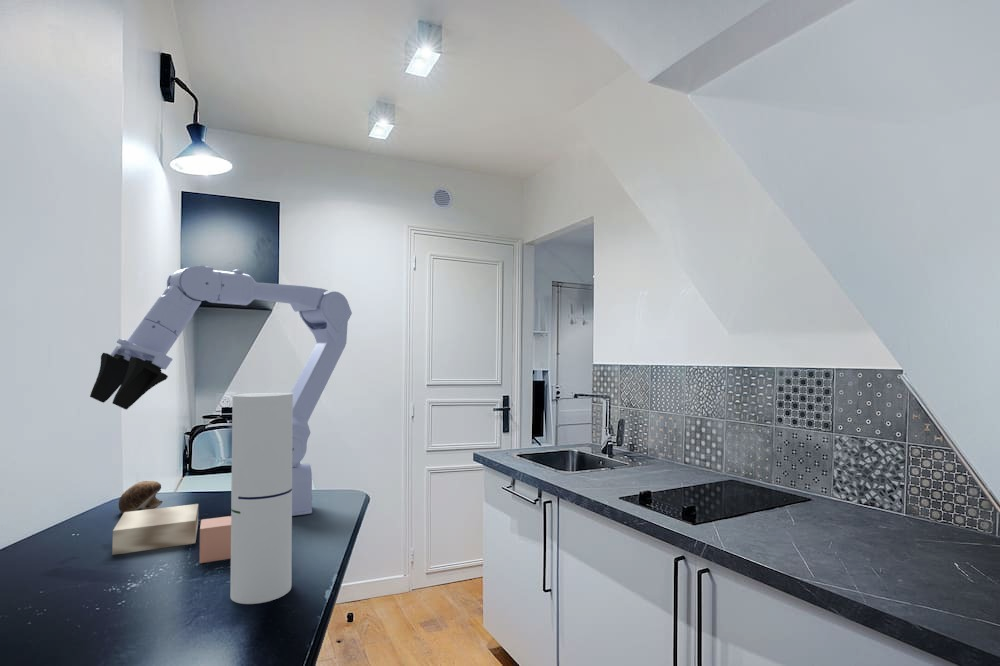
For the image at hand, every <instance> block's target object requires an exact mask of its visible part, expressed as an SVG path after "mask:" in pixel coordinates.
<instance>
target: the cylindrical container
mask: <svg viewBox="0 0 1000 666" xmlns="http://www.w3.org/2000/svg"><path fill="white" fill-rule="evenodd" d="M231 403H232V406H231V407H232V409H231V411H232V414H231V416H232V417H231V418H232V419H231V421H232V422H231V427H232V428H231V492H230V493H231V494H230V497H231V500H230V502H231V504H230V507H231V508H230V509H231V510H230V512H231V513H230V514H231V515H230V516H231V558H230V590H229V591H230V594H229V595H230V600H231V601H232V602H234V603H237V604H242V605H254V604H255V605H256V604H262V603H267V602H271V601H273V600H276V599H279V598H281V597H283V596H286V594H287V595H288V593H289V592H290V591H291V590H292V578H293V577H292V574H293V573H292V571H293V570H292V567H293V566H292V563H293V562H292V561H293V560H292V557H293V556H292V553H293V551H292V547H293V544H292V543H293V542H292V541H293V540H292V539H293V538H292V536H293V535H292V533H293V530H292V529H293V516H292V424H293V393H291V392H283V391H282V392H281V391H277V392H274V391H273V392H249V393H248V392H247V393H238V394H232V402H231Z"/></svg>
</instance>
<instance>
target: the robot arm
mask: <svg viewBox="0 0 1000 666" xmlns="http://www.w3.org/2000/svg"><path fill="white" fill-rule="evenodd" d="M326 292H327V293H326ZM254 300H258V301H266V302H267V301H268V302H273V303H276V302H277V303H281V304H289V305H290V306H291V308H292V309H293V311H294V312H298V314H299V316H300V318H301V320H302V321H303V323H304V324H305V325H306V327H307V328H308V329H309V331H310V332H311V333H312V334H313V336H314V337H313V338H314V339H315V342H316V343H315V346H314V347H313V349H312V351H311V354H309V357H308V359H307V361H306V362H305V364H304V367H303V369H302V370H301V373H300V375H299V376H298V379H297V380H296V382H295V384H294V386H293V388H292V389H291V391H290V393H293V424H292V517H295V516H302V515H310V514H312V513H313V509H312V508H313V507H312V506H313V503H312V502H313V476H312V467H311V463H301V462H302V461H303V459H304V458H305V456H306V453H307V448H308V447H307V446H308V445H307V444H308V440H309V438H310V435H311V429H310V426H309V424H308V423H309V419H310V418H311V416H312V413H313V412H314V410H315V408H316V406H317V404H318V401H319V400H320V398H321V397H322V394H323V392H324V390H325V388H326V386H327V384H328V382H329V380H330V378H331V376H332V373H333V371H334V370H335V368H336V366H337V364H338V361H340V357H341V356H342V354H343V351H344V350H345V348H346V345H347V340H348V339H347V338H348V321H349V320H350V319H351V316H352V314H353V313H352V309H351V307H350V304H349V301H348V299H347V298H346V296H345V295H344V294H343V293H341V292H339V291H329V292H328V289H324V288H320V287H313V286H305V285H295V284H294V285H293V284H281V283H271V282H270V283H268V282H257V281H256V280H255V279H254V278H253V277H252V275H249V274H247V273H244V270H242V269H233V270H232V272H231V271H224V270H216V269H214V267H212V266H206V265H200V266H199V265H195V266H194V265H192V266H189V267H185V268H181V269H178V270H176V271H175V272H173V274H172V275H171V274H170V275H168V277H167V280H166V289H165V290H164V292H163V293H162V295H161V296H159V297H158V298H157V300H156V301H155V302H154V303H153V305H152V306H151V308H150V309H149V311H148V312H147V313H146V315H145V316H144V318H143V319H142V320H141V321H140V323H139V325H138V326H137V327H136V329H135V330H134V331H133V333H132V334H131V335H130V336H129V338H128V339H127V340H126V339H124V338H118V339H117V341H116V343H117V344H118V345H116V346H115V348H114V349H113V351H112V352H111V353H110V354H109V353H107V352H102V353H101V355H100V365H99V369H98V370H99V371H98V374H97V377H96V380H95V382H94V384H93V388H92V390H91V391H90V395H89V397H90V398H92V399H94V400H96V401H99V402H100V403H103V404H104V403H105V402H107V401H108V400H109V399H110V398H111V397H112V396H113V395H114V393H115V392H116V391H117V392H116V393H115V395H114V397H113V400H112V404H113V405H116V406H117V407H119V408H122V409H123V410H125V411H126V410H128V409H129V408H131V406H133V405H134V404H135V403H136V402H137V401H138V400H139V399H141V397H142V396H143V395H145V394H146V393H147V392H148V391H149V390H151V389H152V388H153V387H156V385H158V384H160V383H161V382H164V381H166V380H167V379H168V377H169V376H168V375H167V374H165V373H164V372H163V371H162V370H165V371H166V370H167V368H169V365H170V364H171V362H172V361H173V358H172V357H170V356H168V355H167V354H168V353H169V351H170V350H171V348H172V347H173V345H174V344H175V343H176V341H177V340H178V338H179V336H180V335H181V334H182V332H183V331H184V330H185V328H186V327H187V325H188V324H189V322H190V321H191V319H192V318H193V316H194V314H195V313H196V311H197V310H198V308H199V307H200V305H201V304H202V301H203V302H204V301H206V302H208V303H211V304H227V305H238V306H248V305H250V304H251V303H252V302H253V301H254Z"/></svg>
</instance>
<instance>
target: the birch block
mask: <svg viewBox="0 0 1000 666" xmlns="http://www.w3.org/2000/svg"><path fill="white" fill-rule="evenodd" d="M198 527H199V503H193V504H186V505H185V504H183V505H176V506H174V505H173V506H169V507H168V506H167V507H156V508H154V509H147V510H143V509H138V510H135V511H130V512H124V514H123V513H122V515H121V517H120V518H119V520H118V522H117V523H116V525H115V526H114V528H113V529H112V552H111V553H112V554H111V555H112V556H114V555H120V554H121V555H122V554H130V553H136V552H137V553H138V552H142V551H149V550H157V549H162V548H163V549H164V548H171V547H177V546H179V547H180V546H185V545H192V544H196V540H197V534H198Z"/></svg>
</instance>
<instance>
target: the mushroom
mask: <svg viewBox="0 0 1000 666" xmlns="http://www.w3.org/2000/svg"><path fill="white" fill-rule="evenodd" d="M161 489H162V484H161V483H160V482H158V481H155V480H142V481H138V482H137V483H135V484H133V485H132V486H130V487H129V488H128V489H126V490H125V491H124V492H123V493H122V494H121V496H120V498H119V499H118V510H119V511H120V513H121V514H122V515H123V514H124V512H130V511H139V510H147V509H156V508H159V506H161V505H162V504H163V501H162V500H160V499H158V498H157V497H156V496H157V494H158V493H159V492H160V491H161Z"/></svg>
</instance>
